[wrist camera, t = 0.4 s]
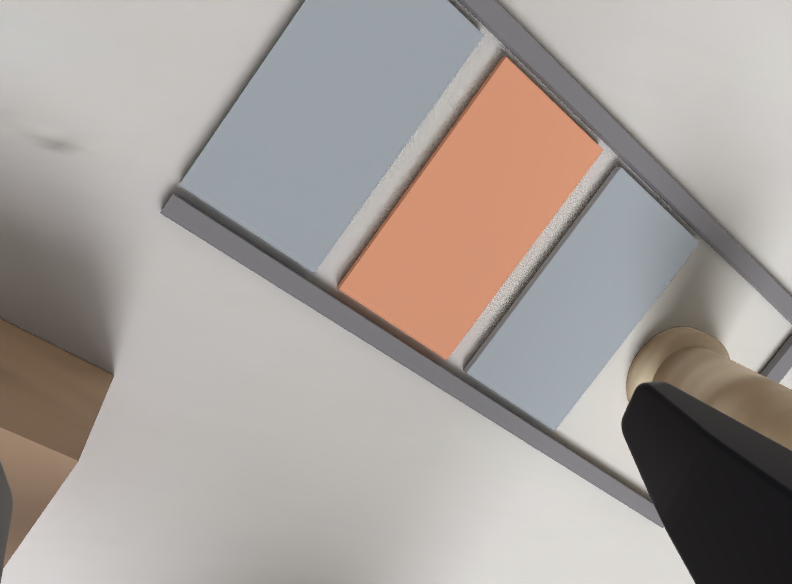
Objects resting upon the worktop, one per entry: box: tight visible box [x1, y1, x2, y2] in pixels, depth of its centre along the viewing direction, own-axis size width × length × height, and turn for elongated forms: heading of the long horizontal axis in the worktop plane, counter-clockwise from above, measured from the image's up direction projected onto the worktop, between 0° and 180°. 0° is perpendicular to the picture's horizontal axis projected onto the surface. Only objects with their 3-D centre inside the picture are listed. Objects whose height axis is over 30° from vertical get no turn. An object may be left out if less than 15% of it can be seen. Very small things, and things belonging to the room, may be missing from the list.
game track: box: [160, 0, 792, 528], centre depth 26 cm, size 13×30×1 cm, turn 53°
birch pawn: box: [626, 327, 792, 450], centre depth 26 cm, size 5×5×8 cm
